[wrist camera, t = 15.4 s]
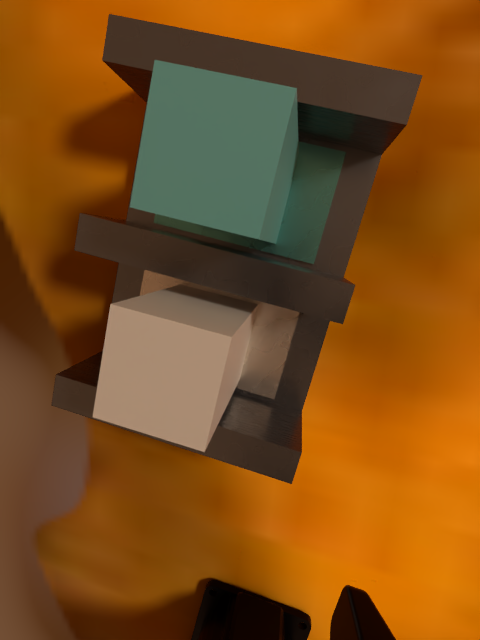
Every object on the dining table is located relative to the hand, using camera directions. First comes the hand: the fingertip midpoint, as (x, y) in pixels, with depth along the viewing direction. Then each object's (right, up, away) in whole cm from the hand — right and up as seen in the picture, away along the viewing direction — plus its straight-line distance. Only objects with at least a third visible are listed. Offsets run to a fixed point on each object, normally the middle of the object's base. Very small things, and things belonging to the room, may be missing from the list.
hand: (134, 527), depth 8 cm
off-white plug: (+1, +4, +11) cm, 11 cm away
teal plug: (+2, +10, +9) cm, 14 cm away
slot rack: (+2, +7, +11) cm, 14 cm away
